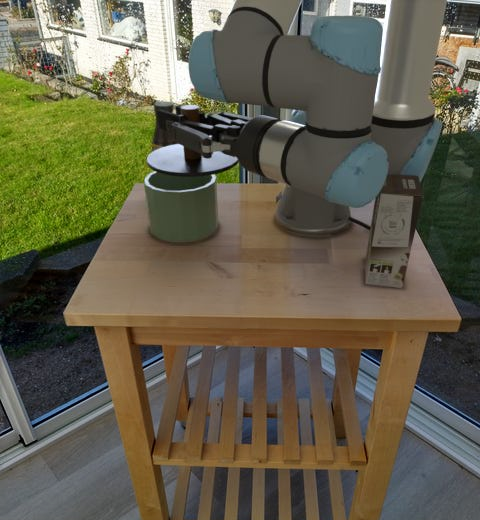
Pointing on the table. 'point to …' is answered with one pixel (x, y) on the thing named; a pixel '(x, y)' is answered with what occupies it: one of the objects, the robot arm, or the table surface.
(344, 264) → the table surface
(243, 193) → the table surface
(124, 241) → the table surface
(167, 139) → the sauce bottle
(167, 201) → the pot
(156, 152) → the lid
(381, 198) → the coffee box
